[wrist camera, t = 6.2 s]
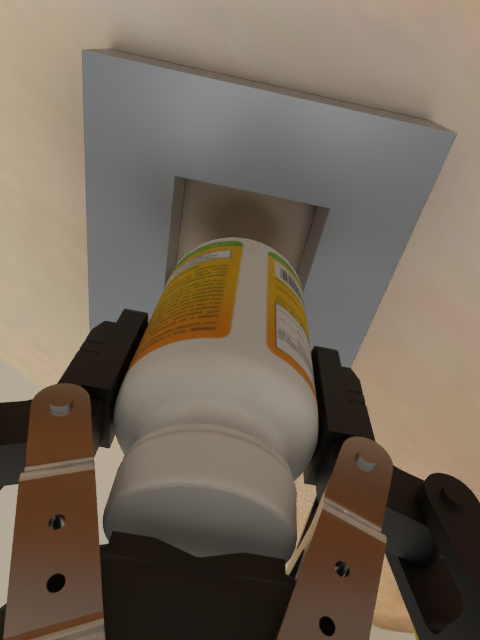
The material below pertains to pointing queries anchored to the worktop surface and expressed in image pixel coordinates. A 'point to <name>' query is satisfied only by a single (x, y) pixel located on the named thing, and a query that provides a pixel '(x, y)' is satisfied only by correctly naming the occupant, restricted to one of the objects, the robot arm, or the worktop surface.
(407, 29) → the worktop surface
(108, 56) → the socket block
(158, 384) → the supplement bottle
